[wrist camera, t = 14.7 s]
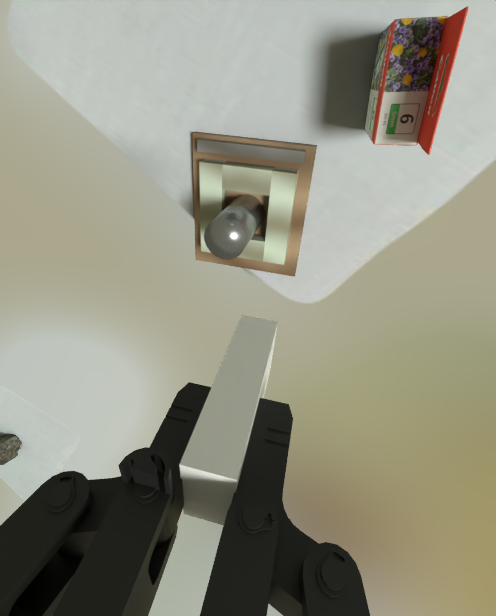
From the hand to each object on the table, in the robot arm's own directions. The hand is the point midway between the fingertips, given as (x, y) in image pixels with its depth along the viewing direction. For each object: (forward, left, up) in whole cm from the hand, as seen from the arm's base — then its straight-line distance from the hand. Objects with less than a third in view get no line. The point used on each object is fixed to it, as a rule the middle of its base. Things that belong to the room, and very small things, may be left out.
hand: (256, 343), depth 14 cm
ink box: (-9, +6, -31) cm, 33 cm away
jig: (+5, -7, -30) cm, 31 cm away
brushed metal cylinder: (+5, -7, -29) cm, 31 cm away
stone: (+83, -73, -31) cm, 115 cm away
